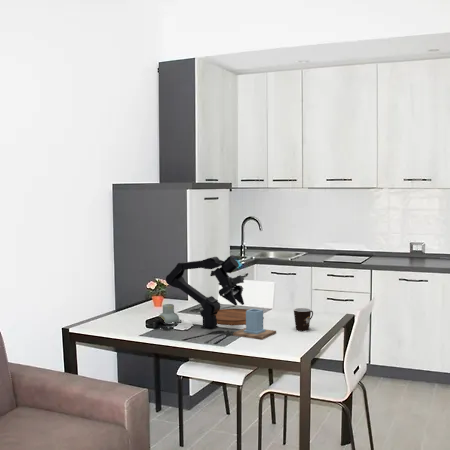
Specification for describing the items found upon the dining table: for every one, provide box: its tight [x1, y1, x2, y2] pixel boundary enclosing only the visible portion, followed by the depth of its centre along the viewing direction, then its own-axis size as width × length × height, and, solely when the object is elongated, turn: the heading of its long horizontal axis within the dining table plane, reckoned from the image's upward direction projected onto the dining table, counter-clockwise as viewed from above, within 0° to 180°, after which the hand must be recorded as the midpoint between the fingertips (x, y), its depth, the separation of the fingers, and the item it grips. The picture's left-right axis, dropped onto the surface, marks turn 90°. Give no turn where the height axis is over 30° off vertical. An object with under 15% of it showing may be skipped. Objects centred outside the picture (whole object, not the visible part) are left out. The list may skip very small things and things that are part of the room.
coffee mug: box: [293, 307, 314, 332], centre depth 305 cm, size 12×9×10 cm
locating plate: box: [232, 327, 277, 341], centre depth 297 cm, size 16×14×4 cm
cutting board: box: [215, 308, 264, 326], centre depth 332 cm, size 32×32×3 cm
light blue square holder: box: [244, 308, 267, 335], centre depth 296 cm, size 8×8×10 cm
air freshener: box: [158, 303, 180, 323], centre depth 321 cm, size 11×8×10 cm
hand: (240, 304), depth 302 cm, fingers open, 9 cm apart
